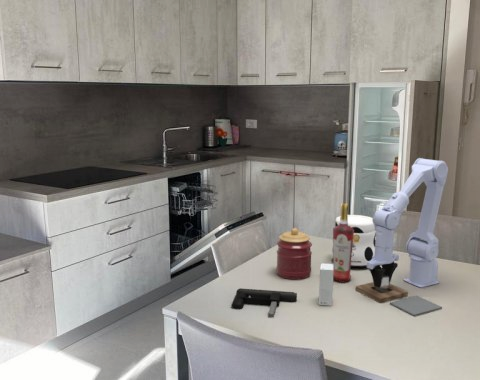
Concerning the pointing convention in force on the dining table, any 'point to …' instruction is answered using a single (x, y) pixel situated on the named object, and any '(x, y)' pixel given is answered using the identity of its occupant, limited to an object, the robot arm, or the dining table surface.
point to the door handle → (262, 298)
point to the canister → (294, 255)
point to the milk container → (361, 239)
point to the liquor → (342, 247)
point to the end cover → (383, 284)
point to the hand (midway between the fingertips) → (381, 284)
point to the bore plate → (381, 297)
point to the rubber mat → (415, 305)
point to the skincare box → (326, 284)
